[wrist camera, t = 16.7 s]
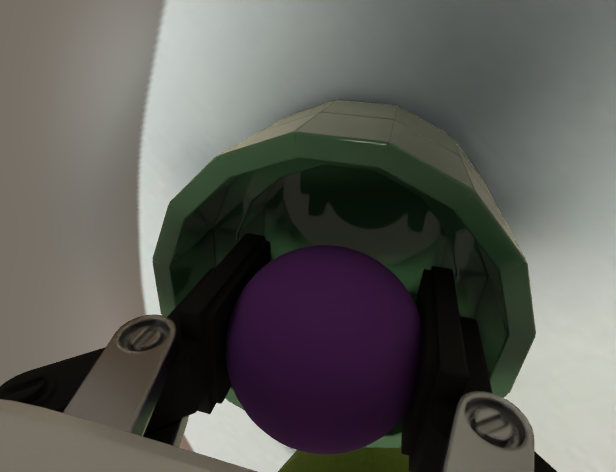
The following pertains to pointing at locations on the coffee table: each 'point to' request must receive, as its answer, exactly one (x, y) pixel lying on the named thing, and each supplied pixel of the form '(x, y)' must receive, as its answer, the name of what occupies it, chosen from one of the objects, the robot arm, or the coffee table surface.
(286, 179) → the green bowl
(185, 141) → the coffee table surface
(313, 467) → the apple
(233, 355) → the purple ball
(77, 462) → the robot arm
